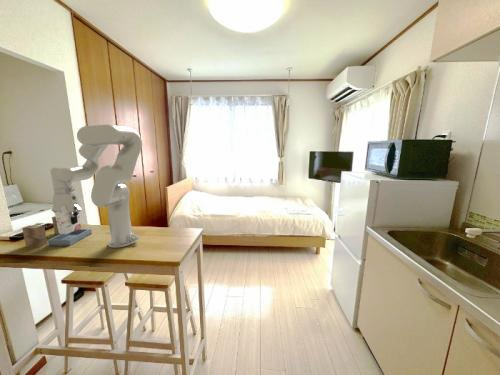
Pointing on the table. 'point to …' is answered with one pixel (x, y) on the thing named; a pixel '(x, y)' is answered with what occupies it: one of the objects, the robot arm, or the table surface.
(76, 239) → the tray
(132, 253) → the table surface
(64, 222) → the ink cartridge box
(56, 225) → the right walnut block
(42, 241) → the left walnut block
